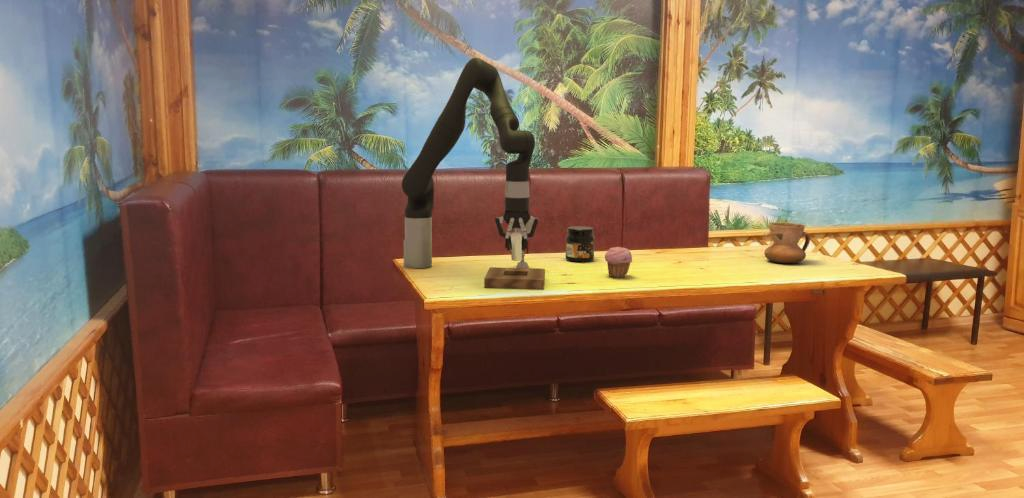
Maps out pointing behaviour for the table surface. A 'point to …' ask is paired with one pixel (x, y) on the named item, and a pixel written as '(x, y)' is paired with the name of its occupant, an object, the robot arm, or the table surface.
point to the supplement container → (580, 244)
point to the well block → (515, 278)
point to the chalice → (522, 263)
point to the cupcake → (618, 261)
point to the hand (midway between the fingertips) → (516, 249)
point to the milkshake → (516, 245)
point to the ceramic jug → (786, 242)
